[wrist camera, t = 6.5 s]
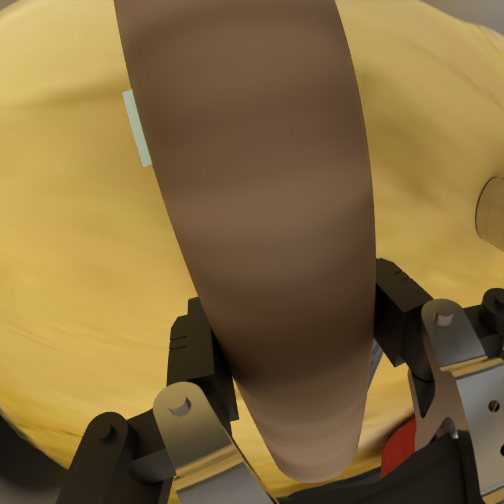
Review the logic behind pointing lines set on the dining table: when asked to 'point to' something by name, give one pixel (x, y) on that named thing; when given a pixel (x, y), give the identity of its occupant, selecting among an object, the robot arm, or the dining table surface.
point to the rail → (267, 204)
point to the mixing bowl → (399, 446)
